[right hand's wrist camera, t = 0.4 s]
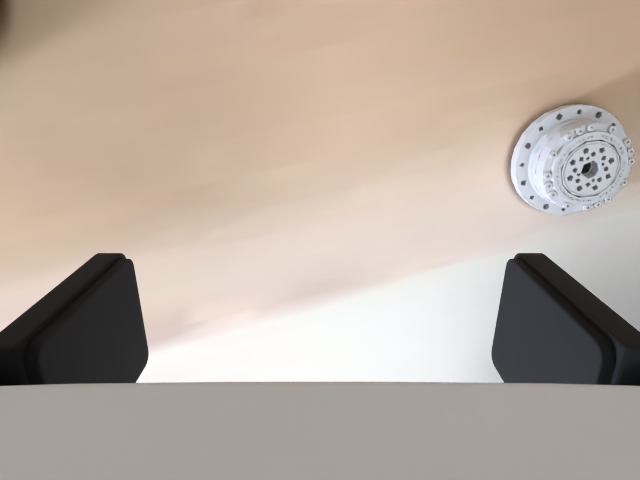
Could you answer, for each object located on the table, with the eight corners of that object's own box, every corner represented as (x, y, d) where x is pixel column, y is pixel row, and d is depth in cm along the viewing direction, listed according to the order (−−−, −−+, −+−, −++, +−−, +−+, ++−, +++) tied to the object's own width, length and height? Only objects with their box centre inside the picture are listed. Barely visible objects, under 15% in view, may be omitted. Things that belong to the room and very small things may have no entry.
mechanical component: (525, 226, 43) (627, 184, 41) (547, 243, 39) (661, 197, 37) (495, 133, 39) (605, 84, 38) (516, 140, 35) (640, 85, 34)
